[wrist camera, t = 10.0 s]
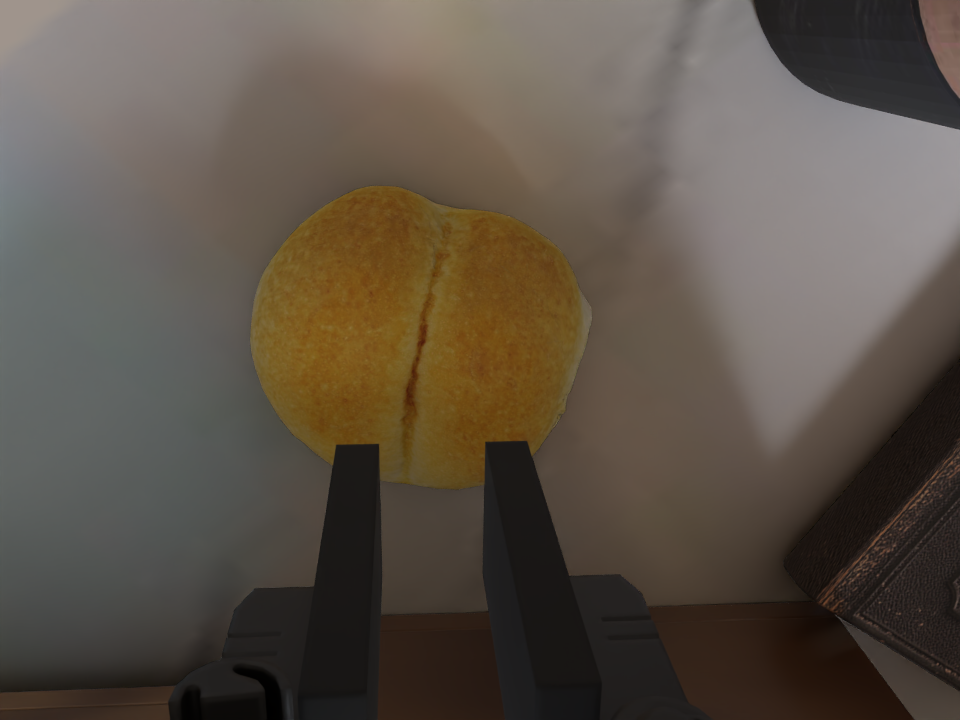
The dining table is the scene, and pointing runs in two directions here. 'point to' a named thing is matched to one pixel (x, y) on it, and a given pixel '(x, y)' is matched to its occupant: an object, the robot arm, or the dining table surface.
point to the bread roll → (417, 334)
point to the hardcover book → (898, 541)
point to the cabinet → (692, 651)
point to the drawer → (88, 704)
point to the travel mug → (873, 52)
